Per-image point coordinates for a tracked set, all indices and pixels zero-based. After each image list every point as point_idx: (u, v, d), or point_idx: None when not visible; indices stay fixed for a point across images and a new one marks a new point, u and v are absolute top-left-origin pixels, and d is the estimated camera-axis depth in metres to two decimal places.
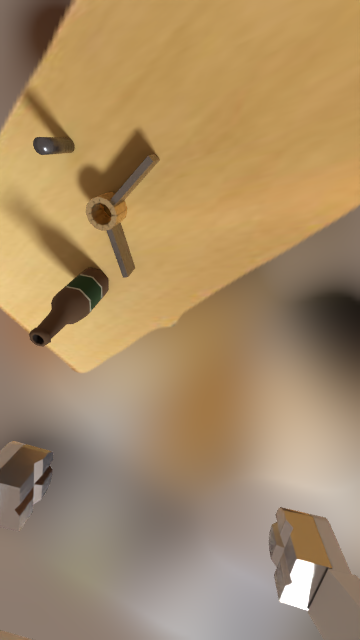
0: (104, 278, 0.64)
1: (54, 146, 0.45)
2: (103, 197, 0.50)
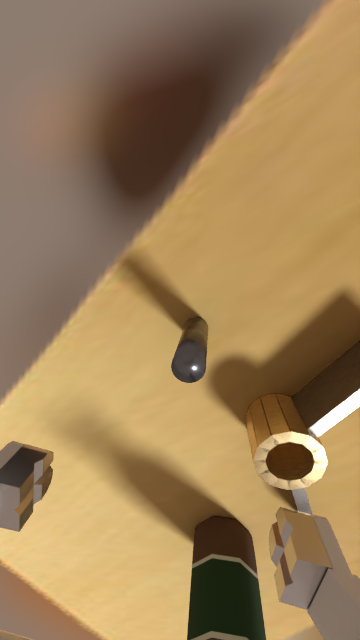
0: (249, 541, 0.32)
1: (206, 354, 0.21)
2: (296, 428, 0.23)
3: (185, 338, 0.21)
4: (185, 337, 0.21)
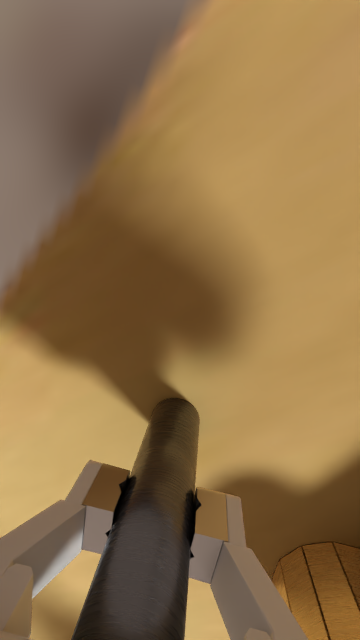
0: None
1: (187, 584, 0.07)
2: None
3: (128, 521, 0.07)
4: (130, 513, 0.08)
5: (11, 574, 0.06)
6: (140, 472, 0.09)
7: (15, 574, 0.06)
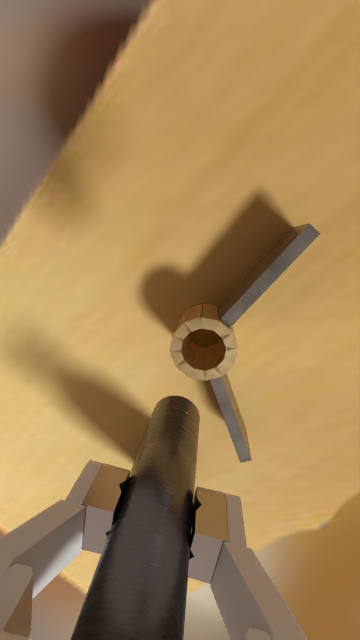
0: None
1: (187, 571, 0.07)
2: (207, 317, 0.24)
3: (130, 512, 0.08)
4: (132, 504, 0.08)
5: (11, 574, 0.06)
6: (142, 466, 0.09)
7: (15, 574, 0.06)
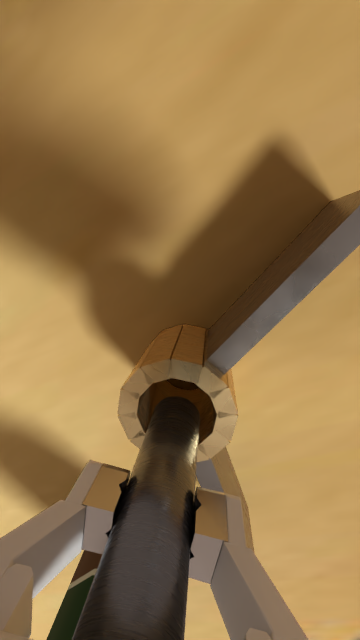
0: None
1: (188, 571, 0.07)
2: (183, 356, 0.13)
3: (131, 512, 0.08)
4: (133, 504, 0.08)
5: (11, 574, 0.06)
6: (142, 466, 0.09)
7: (15, 574, 0.06)
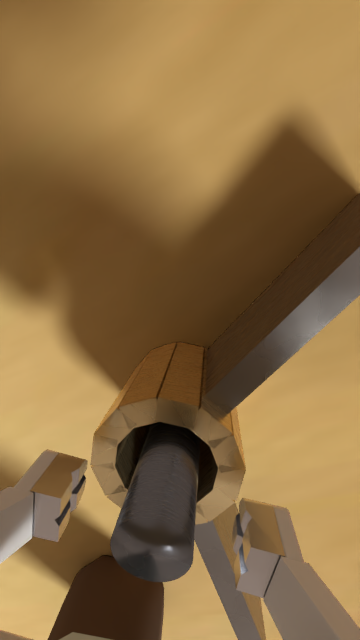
0: (154, 599, 0.19)
1: (197, 485, 0.10)
2: (174, 393, 0.10)
3: (154, 446, 0.10)
4: (154, 441, 0.10)
5: None
6: None
7: None
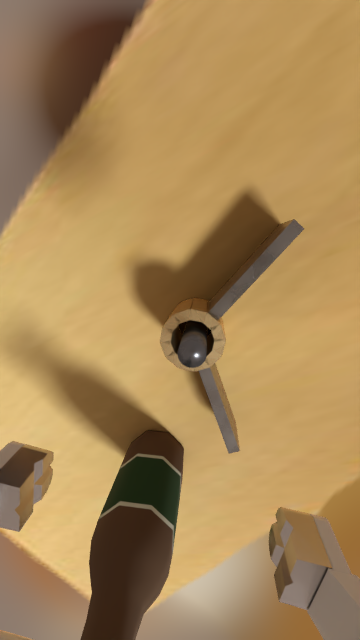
0: (179, 450, 0.34)
1: (206, 344, 0.24)
2: (196, 309, 0.25)
3: (188, 331, 0.25)
4: (188, 330, 0.25)
5: None
6: (188, 326, 0.26)
7: None
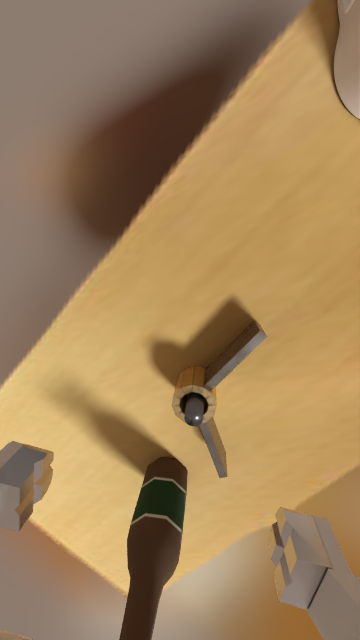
0: (184, 472, 0.46)
1: (203, 407, 0.36)
2: (196, 384, 0.37)
3: (191, 398, 0.37)
4: (191, 397, 0.37)
5: None
6: (191, 392, 0.38)
7: None
